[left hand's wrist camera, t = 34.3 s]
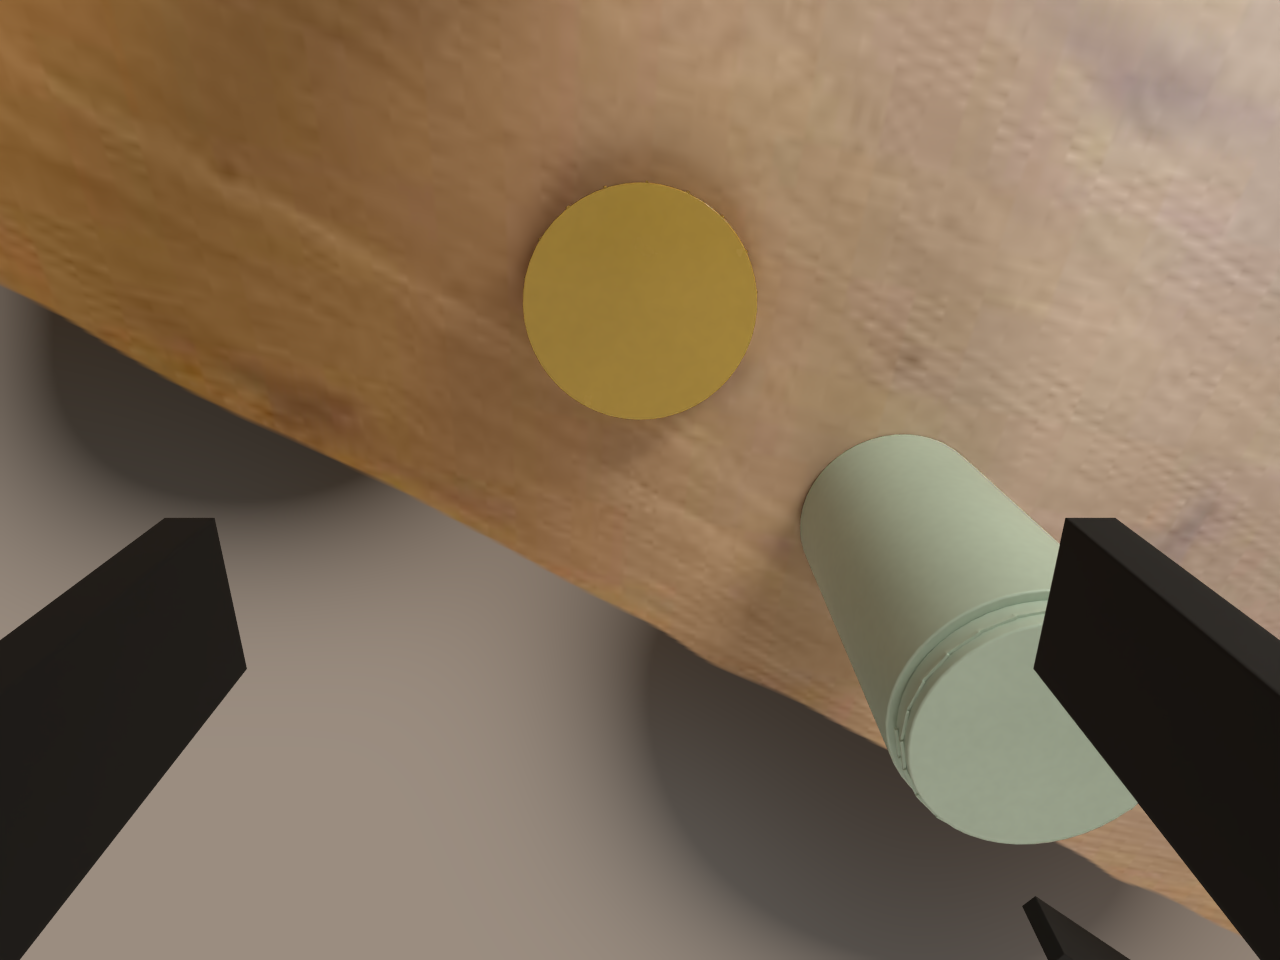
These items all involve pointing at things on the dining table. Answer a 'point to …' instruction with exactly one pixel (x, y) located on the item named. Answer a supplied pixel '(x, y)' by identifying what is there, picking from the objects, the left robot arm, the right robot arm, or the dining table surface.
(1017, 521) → the jar
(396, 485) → the dining table surface
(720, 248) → the lid
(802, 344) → the dining table surface
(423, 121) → the dining table surface
